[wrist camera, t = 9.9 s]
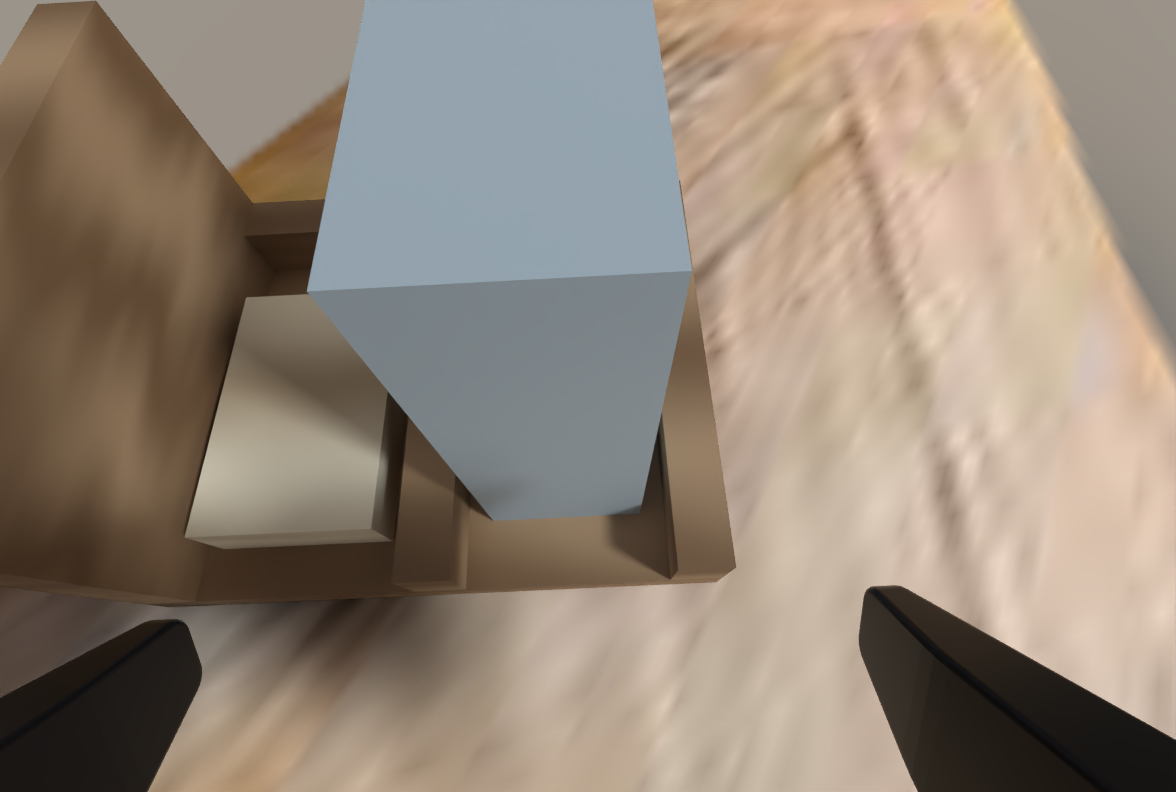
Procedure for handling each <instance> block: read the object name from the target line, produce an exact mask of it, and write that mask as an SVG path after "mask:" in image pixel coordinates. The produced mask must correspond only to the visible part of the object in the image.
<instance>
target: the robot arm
mask: <svg viewBox="0 0 1176 792" xmlns="http://www.w3.org/2000/svg"><path fill="white" fill-rule="evenodd" d="M859 647H860V652H861V655H862V658H863V661H864V663H865V666H866V668H867V671H868V673H869V676H870V678H871V681H872V683H873V686H874V688H875V691H876V693H877V696H878V698H879V701H880V703H881V705H882V708H883V710H884V713H885V715H886V718H887V720H888V723H889V725H890V728H891V730H892V733H893V735H894V738H895V740H896V743H897V745H898V748H899V750H900V753H901V755H902V758H903V760H904V762H905V765H906V767H907V769H908V772H909V774H910V776H911V778H912V780H913V783H914V785H915V787H916V789H917V791H918V792H1176V740H1175V739H1173V738H1172V737H1170V736H1168V735H1166V734H1165V733H1163V732H1161V731H1159V730H1157V729H1156V728H1154V727H1152V726H1150V725H1148V724H1147V723H1145V722H1143V721H1141V720H1140V719H1138V718H1136V717H1134V716H1132V715H1131V714H1129V713H1127V712H1125V711H1124V710H1122V709H1120V708H1118V707H1116V706H1115V705H1113V704H1111V703H1109V702H1107V701H1106V700H1104V699H1102V698H1100V697H1099V696H1097V695H1095V694H1093V693H1091V692H1090V691H1088V690H1086V689H1084V688H1083V687H1081V686H1079V685H1077V684H1075V683H1074V682H1072V681H1070V680H1068V679H1066V678H1065V677H1063V676H1061V675H1059V674H1058V673H1056V672H1054V671H1052V670H1050V669H1049V668H1047V667H1045V666H1043V665H1041V664H1040V663H1038V662H1036V661H1034V660H1033V659H1031V658H1029V657H1027V656H1025V655H1024V654H1022V653H1020V652H1018V651H1017V650H1015V649H1013V648H1011V647H1009V646H1008V645H1006V644H1004V643H1002V642H1000V641H999V640H997V639H995V638H993V637H992V636H990V635H988V634H986V633H984V632H983V631H981V630H979V629H977V628H976V627H974V626H972V625H970V624H968V623H967V622H965V621H963V620H961V619H959V618H958V617H956V616H954V615H952V614H951V613H949V612H947V611H945V610H943V609H942V608H940V607H938V606H936V605H935V604H933V603H931V602H929V601H927V600H926V599H924V598H922V597H920V596H918V595H917V594H915V593H913V592H911V591H910V590H908V589H906V588H904V587H902V586H897V585H892V586H873V587H870V588H868V589H867V590H866V592H865V595H864V599H863V607H862V615H861V622H860V630H859ZM201 678H202V666H201V663H200V660H199V657H198V654H197V651H196V648H195V645H194V643H193V640H192V637H191V634H190V631H189V628H188V626H187V625H186V624H185V623H184V622H183V621H182V620H178V619H167V620H151V621H147V622H144V623H142V624H140V625H138V626H136V627H134V628H132V629H130V630H129V631H127V632H125V633H123V634H121V635H119V636H117V637H115V638H113V639H111V640H110V641H108V642H106V643H104V644H102V645H100V646H98V647H96V648H94V649H92V650H91V651H89V652H87V653H85V654H83V655H81V656H79V657H77V658H75V659H73V660H71V661H70V662H68V663H66V664H64V665H62V666H60V667H58V668H56V669H54V670H52V671H51V672H49V673H47V674H45V675H43V676H41V677H39V678H37V679H35V680H33V681H32V682H30V683H28V684H26V685H24V686H22V687H20V688H18V689H16V690H14V691H13V692H11V693H9V694H7V695H5V696H3V697H1V698H0V792H148V790H149V788H150V786H151V784H152V782H153V780H154V778H155V776H156V774H157V772H158V770H159V768H160V766H161V763H162V761H163V759H164V757H165V755H166V753H167V751H168V749H169V747H170V745H171V743H172V741H173V739H174V737H175V735H176V733H177V731H178V729H179V727H180V725H181V723H182V721H183V719H184V717H185V715H186V713H187V711H188V709H189V707H190V705H191V703H192V701H193V698H194V696H195V694H196V692H197V690H198V688H199V686H200V682H201Z"/></svg>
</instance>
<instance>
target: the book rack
mask: <svg viewBox="0 0 1176 792" xmlns="http://www.w3.org/2000/svg"><path fill="white" fill-rule="evenodd" d="M679 185H680V180H679ZM680 192H681V185H680ZM681 199H682V205H683V198H682V192H681ZM324 204H325V199H324V200H306V201H287V202H268V203H252V202H251V200H250V199H249V198H248V196H247V195H246V194H245V193H244V191H243V190H242V189H241V187H240V186H239V185H238V184H237V182H236V181H235V180H234V178H233V177H232V176H231V174H230V173H229V172H228V171H227V169H226V168H225V167H224V165H223V164H222V163H221V162H220V160H219V159H218V158H217V156H216V155H215V154H214V153H213V151H212V150H211V149H210V147H209V146H208V145H207V144H206V142H205V141H204V140H203V139H202V137H201V136H200V135H199V134H198V132H197V131H196V129H195V128H194V127H193V125H192V124H191V123H190V122H189V120H188V119H187V118H186V116H185V115H184V114H183V113H182V111H181V110H180V109H179V107H178V106H177V105H176V104H175V102H174V101H173V100H172V98H171V97H170V96H169V94H168V93H167V92H166V91H165V89H163V87H162V85H161V84H160V83H159V82H158V80H157V79H156V78H155V77H154V75H153V74H152V72H151V71H150V70H149V69H148V67H147V66H146V65H145V63H144V62H143V61H142V60H141V58H140V57H139V56H138V55H137V53H136V52H135V51H134V49H133V48H132V47H131V45H130V44H129V43H128V42H127V40H126V39H125V38H124V37H123V35H122V34H121V32H120V31H119V30H118V29H117V27H116V26H115V25H114V23H113V22H112V21H111V20H110V18H109V17H108V16H107V14H106V13H105V12H104V11H103V9H102V8H101V7H100V5H99V4H98V3H97V2H96V1H86V2H71V3H52V4H38V5H37V6H36V7H35V9H34V11H33V13H32V14H31V16H30V17H29V19H28V21H27V22H26V24H25V26H24V27H23V29H22V31H21V32H20V34H19V36H18V37H17V39H16V41H15V42H14V44H13V46H12V47H11V49H10V51H9V52H8V54H7V56H6V58H5V59H4V61H3V62H2V64H1V66H0V586H3V587H11V588H19V589H27V590H35V591H43V592H51V593H59V594H67V595H75V596H83V597H92V598H100V599H108V600H116V601H124V602H132V603H140V604H148V605H156V606H164V607H182V606H204V605H225V604H247V603H269V602H291V601H313V600H334V599H356V598H378V597H400V596H421V595H443V594H465V593H487V592H509V591H530V590H552V589H574V588H596V587H618V586H639V585H661V584H683V583H705V582H717V581H718V580H720V579H721V578H722V577H724V576H725V575H726V574H728V573H729V572H731V571H732V570H733V569H735V568H736V563H735V556H734V549H733V542H732V535H731V528H730V522H729V515H728V508H727V501H726V494H725V487H724V480H723V473H722V467H721V460H720V453H719V446H718V439H717V432H716V425H715V418H714V412H713V405H712V398H711V391H710V384H709V377H708V370H707V363H706V357H705V350H704V343H703V336H702V329H701V322H700V315H699V308H698V302H697V295H696V288H695V281H694V274H693V267H692V260H691V253H690V247H689V253H690V260H691V267H692V274H691V278H690V283H689V288H688V292H687V297H686V301H685V306H684V311H683V315H682V320H681V325H680V329H679V334H678V338H677V343H676V348H675V352H674V357H673V362H672V366H671V371H670V376H669V380H668V385H667V389H666V394H665V399H664V403H663V408H662V413H661V417H660V422H659V427H658V431H657V436H656V440H655V445H654V450H653V454H652V459H651V464H650V468H649V473H648V477H647V482H646V487H645V491H644V496H643V501H642V505H641V510H640V514H626V515H605V516H585V517H564V518H544V519H523V520H503V521H493V520H492V519H491V517H490V516H489V515H488V514H487V512H486V511H485V510H484V509H483V508H482V506H481V505H480V504H479V503H478V501H477V500H476V499H475V498H474V496H473V495H472V494H471V493H470V492H469V490H468V489H467V488H466V487H465V485H464V484H463V483H462V482H461V480H460V479H459V478H458V477H457V476H456V474H455V473H454V472H453V471H452V469H451V468H450V467H449V466H448V464H447V463H446V462H445V461H444V460H443V458H442V457H441V456H440V455H439V453H438V452H437V451H436V450H435V448H434V447H433V446H432V445H431V444H430V442H429V441H428V440H427V439H426V437H425V436H424V435H423V434H422V432H421V431H420V430H419V429H418V428H417V426H416V425H415V424H414V423H413V421H412V420H411V419H410V418H409V416H408V415H407V414H406V413H405V412H404V410H403V409H402V408H401V407H400V405H399V404H398V403H397V402H396V400H395V399H394V398H393V397H392V396H391V394H390V393H389V392H388V391H387V389H386V388H385V387H384V386H383V384H382V383H381V382H380V381H379V380H378V378H377V377H376V376H375V375H374V373H373V372H372V371H371V370H370V369H369V367H368V366H367V365H366V364H365V362H364V361H363V360H362V359H361V357H360V356H359V355H358V354H357V353H356V351H355V350H354V349H353V348H352V346H351V345H350V344H349V343H348V341H347V340H346V339H345V338H344V337H343V335H342V334H341V333H340V332H339V330H338V329H337V328H336V327H335V325H334V324H333V323H332V322H331V321H330V319H329V318H328V317H327V316H326V314H325V313H324V312H323V311H322V309H321V308H320V307H319V306H318V305H317V303H316V302H315V301H314V300H313V298H312V297H311V296H310V295H309V293H308V292H307V288H308V283H309V278H310V273H311V268H312V263H313V258H314V254H315V249H316V244H317V239H318V234H319V229H320V224H321V219H322V214H323V209H324ZM683 212H684V205H683ZM684 219H685V212H684ZM685 226H686V219H685ZM686 233H687V226H686ZM687 240H688V233H687ZM688 246H689V240H688Z"/></svg>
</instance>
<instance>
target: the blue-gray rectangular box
mask: <svg viewBox="0 0 1176 792" xmlns="http://www.w3.org/2000/svg"><path fill="white" fill-rule="evenodd" d="M691 274H692V267H691V260H690V253H689V246H688V240H687V233H686V226H685V219H684V212H683V205H682V199H681V192H680V185H679V178H678V171H677V164H676V158H675V151H674V144H673V137H672V130H671V123H670V117H669V110H668V103H667V96H666V89H665V82H664V76H663V69H662V62H661V55H660V48H659V41H658V35H657V28H656V21H655V14H654V7H653V1H652V0H366V2H365V6H364V11H363V16H362V21H361V26H360V31H359V36H358V41H357V46H356V51H355V56H354V60H353V65H352V70H351V75H350V80H349V85H348V90H347V95H346V100H345V105H344V110H343V115H342V120H341V125H340V130H339V135H338V140H337V145H336V150H335V155H334V159H333V164H332V169H331V174H330V179H329V184H328V189H327V194H326V199H325V204H324V209H323V214H322V219H321V224H320V229H319V234H318V239H317V244H316V249H315V254H314V258H313V263H312V268H311V273H310V278H309V283H308V288H307V292H308V293H309V295H310V296H311V297H312V298H313V300H314V301H315V302H316V303H317V305H318V306H319V307H320V308H321V309H322V311H323V312H324V313H325V314H326V316H327V317H328V318H329V319H330V321H331V322H332V323H333V324H334V325H335V327H336V328H337V329H338V330H339V332H340V333H341V334H342V335H343V337H344V338H345V339H346V340H347V341H348V343H349V344H350V345H351V346H352V348H353V349H354V350H355V351H356V353H357V354H358V355H359V356H360V357H361V359H362V360H363V361H364V362H365V364H366V365H367V366H368V367H369V369H370V370H371V371H372V372H373V373H374V375H375V376H376V377H377V378H378V380H379V381H380V382H381V383H382V384H383V386H384V387H385V388H386V389H387V391H388V392H389V393H390V394H391V396H392V397H393V398H394V399H395V400H396V402H397V403H398V404H399V405H400V407H401V408H402V409H403V410H404V412H405V413H406V414H407V415H408V416H409V418H410V419H411V420H412V421H413V423H414V424H415V425H416V426H417V428H418V429H419V430H420V431H421V432H422V434H423V435H424V436H425V437H426V439H427V440H428V441H429V442H430V444H431V445H432V446H433V447H434V448H435V450H436V451H437V452H438V453H439V455H440V456H441V457H442V458H443V460H444V461H445V462H446V463H447V464H448V466H449V467H450V468H451V469H452V471H453V472H454V473H455V474H456V476H457V477H458V478H459V479H460V480H461V482H462V483H463V484H464V485H465V487H466V488H467V489H468V490H469V492H470V493H471V494H472V495H473V496H474V498H475V499H476V500H477V501H478V503H479V504H480V505H481V506H482V508H483V509H484V510H485V511H486V512H487V514H488V515H489V516H490V517H491V519H492V520H493V521H503V520H523V519H544V518H564V517H585V516H605V515H626V514H640V510H641V505H642V501H643V496H644V491H645V487H646V482H647V477H648V473H649V468H650V464H651V459H652V454H653V450H654V445H655V440H656V436H657V431H658V427H659V422H660V417H661V413H662V408H663V403H664V399H665V394H666V389H667V385H668V380H669V376H670V371H671V366H672V362H673V357H674V352H675V348H676V343H677V338H678V334H679V329H680V325H681V320H682V315H683V311H684V306H685V301H686V297H687V292H688V288H689V283H690V278H691Z"/></svg>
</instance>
